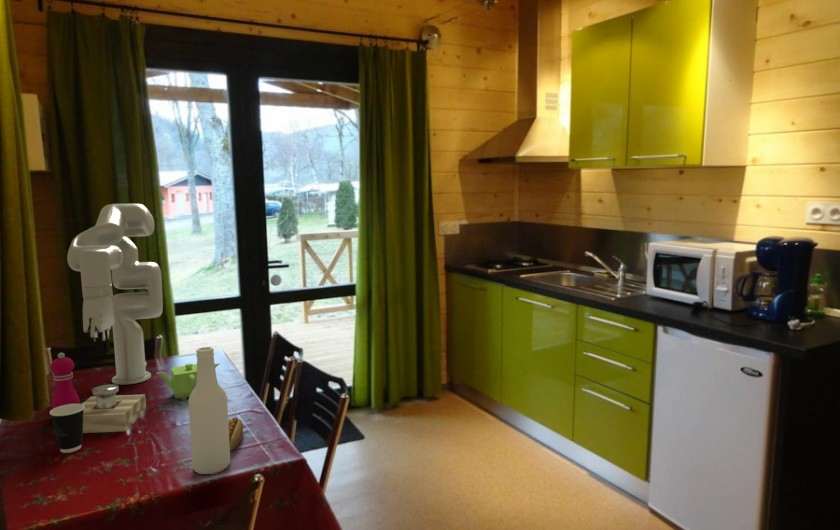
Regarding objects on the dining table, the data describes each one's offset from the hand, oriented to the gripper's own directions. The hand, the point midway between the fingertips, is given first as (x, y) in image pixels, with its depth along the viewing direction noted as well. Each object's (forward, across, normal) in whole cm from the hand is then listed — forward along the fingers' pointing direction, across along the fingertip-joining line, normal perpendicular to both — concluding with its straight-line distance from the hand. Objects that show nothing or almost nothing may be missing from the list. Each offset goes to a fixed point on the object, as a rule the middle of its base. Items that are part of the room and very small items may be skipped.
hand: (103, 353), depth 168 cm
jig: (+21, +1, 0) cm, 21 cm away
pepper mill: (+21, -4, -14) cm, 26 cm away
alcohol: (+20, +34, +38) cm, 55 cm away
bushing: (+21, +1, 0) cm, 21 cm away
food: (+21, +20, +40) cm, 49 cm away
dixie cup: (+21, +19, -2) cm, 28 cm away
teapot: (+21, -19, +18) cm, 34 cm away
